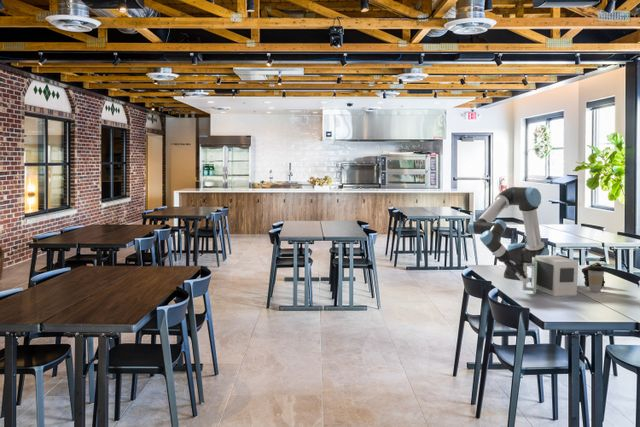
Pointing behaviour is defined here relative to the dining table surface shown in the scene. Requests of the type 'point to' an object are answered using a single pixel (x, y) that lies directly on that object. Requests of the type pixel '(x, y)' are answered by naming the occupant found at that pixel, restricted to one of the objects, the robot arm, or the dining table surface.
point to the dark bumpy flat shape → (588, 273)
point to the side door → (533, 275)
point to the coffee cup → (595, 278)
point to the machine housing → (556, 275)
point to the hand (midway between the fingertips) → (526, 280)
